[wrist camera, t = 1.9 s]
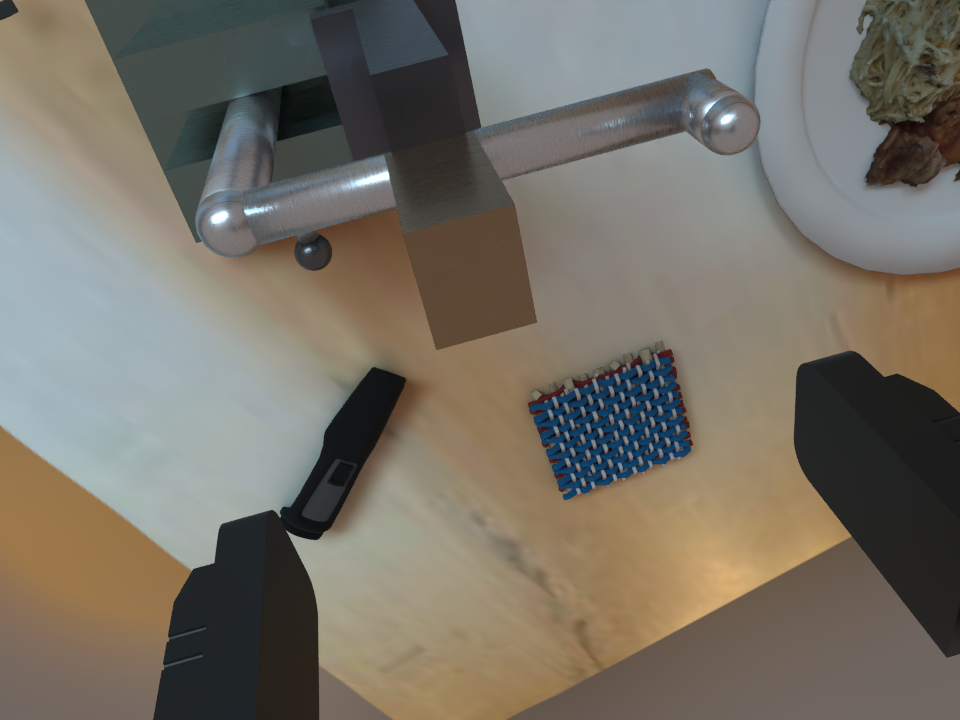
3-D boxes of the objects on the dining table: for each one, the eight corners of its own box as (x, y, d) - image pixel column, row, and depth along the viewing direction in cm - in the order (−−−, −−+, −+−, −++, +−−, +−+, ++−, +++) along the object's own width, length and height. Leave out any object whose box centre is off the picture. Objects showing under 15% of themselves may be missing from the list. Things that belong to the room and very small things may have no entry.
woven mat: (690, 440, 59) (701, 457, 58) (558, 489, 60) (565, 507, 58) (666, 332, 53) (677, 348, 52) (520, 388, 54) (527, 405, 52)
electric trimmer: (418, 363, 51) (424, 390, 49) (323, 526, 57) (324, 557, 55) (367, 344, 50) (370, 371, 47) (274, 513, 56) (273, 545, 53)
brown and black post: (310, 13, 28) (311, 159, 15) (446, -22, 28) (560, 93, 15) (365, 195, 32) (403, 430, 19) (485, 163, 32) (600, 375, 19)
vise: (76, -64, 35) (-201, 53, 16) (526, -176, 36) (776, -194, 17) (213, 243, 44) (140, 555, 25) (571, 148, 44) (768, 379, 25)
